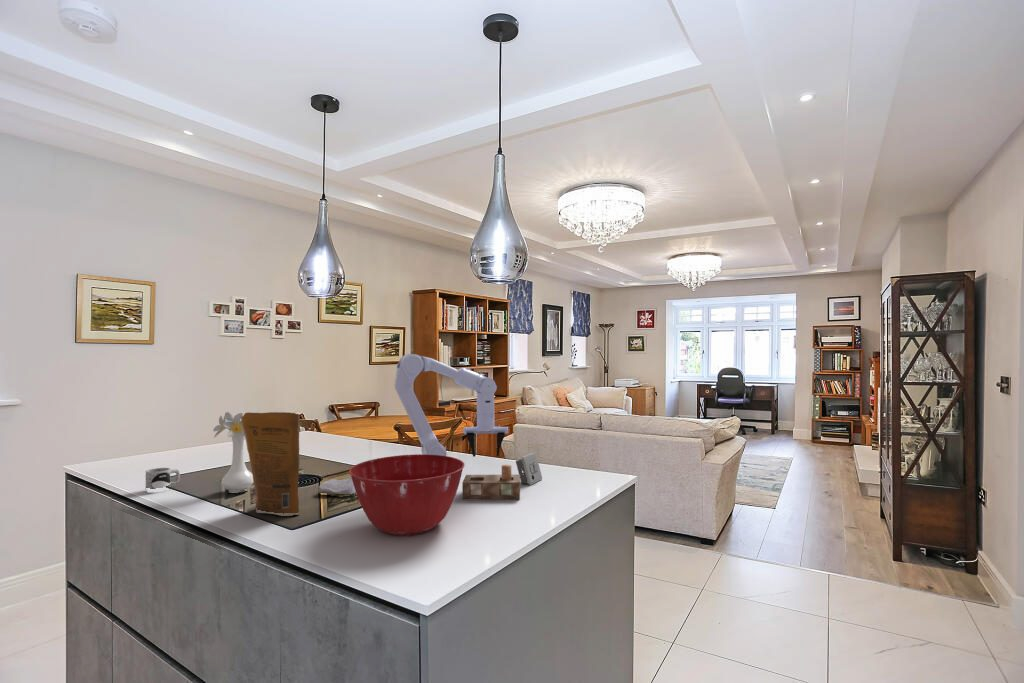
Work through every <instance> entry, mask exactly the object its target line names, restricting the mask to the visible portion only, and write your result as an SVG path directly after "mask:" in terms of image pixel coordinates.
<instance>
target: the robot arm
mask: <svg viewBox="0 0 1024 683" xmlns="http://www.w3.org/2000/svg"><path fill="white" fill-rule="evenodd" d="M429 371H430V372H431V371H432V372H434V373H436V374H437V373H438V374H440V375H443V376H446V377H449V378H451V379H453V380H454V382H455V384H456V385H458V386H460V387H462V388H465V389H468V390H471V391H473V392H476V426H467V427H466V426H465V427H463V428H462V429H463V431H462V432H463V433H462V434H463V435H466V436H465V437H466V439H467V441H468V444H469V446H470V450H471V454H472V457H476V434H483V435H484V434H486V435H487V434H490V435H491V434H496V457H500V450H501V446H502V443H503V440H504V439H505V436H506V435H508V434H509V427H508V426H495V393H496V391H497V390H498V386H497V384H496V382H495V380H494V379H493V378H491V377H487V376H485V375H484V373H481V372H480V373H478V372H475V371H472V370H471V368H470V367H460V368H459V369H456V368H455V367H452V366H450V365H448V364H445V363H443V362H441V361H438V360H436V359H434V358H432V357H426V356H424V355H422V356H421V355H419V354H416V353H412V354H411V353H407V354H404V355H402V356H401V357H400V359H399V361H398V363H397V364H396V372H395V379H394V389H395V391H396V393H397V395H398V398H399V400H400V401H401V403H402V406H403V407H404V410H405V412H406V414H407V416H408V418H409V420H410V422H411V425H412V426H413V428H414V431H415V433H416V435H417V436H418V440H419V442H420V445H421V454H428V455H442V456H448V454H447V449H446V447H445V446H444V445H442V444H441V442H439V440H438V438H437V437H436V434H435V433H434V431H433V429H432V427H431V425H430V422H429V421H428V419H427V417H426V415H425V413H424V411H423V409H422V406H421V404H420V401H419V400H418V398H417V396H416V394H415V391H414V390H413V388H412V386H413V384H414V382H415V379H416V378H417V376H418V375H419V374H420V373H421V372H429Z"/></svg>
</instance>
